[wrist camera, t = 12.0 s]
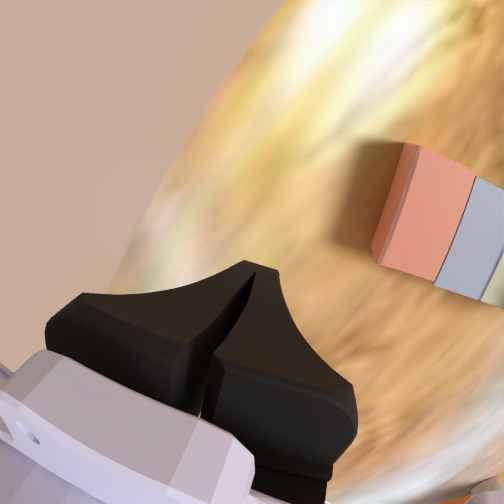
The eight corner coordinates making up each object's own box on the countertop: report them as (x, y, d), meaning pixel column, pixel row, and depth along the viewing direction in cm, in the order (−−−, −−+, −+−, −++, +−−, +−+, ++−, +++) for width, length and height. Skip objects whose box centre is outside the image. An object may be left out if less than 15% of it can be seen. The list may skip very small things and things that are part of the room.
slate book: (465, 280, 19) (480, 301, 16) (421, 265, 20) (433, 285, 17) (500, 191, 16) (522, 201, 14) (457, 169, 17) (476, 176, 14)
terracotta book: (403, 142, 17) (416, 145, 14) (456, 164, 17) (476, 171, 14) (369, 244, 20) (376, 262, 17) (421, 261, 20) (434, 281, 17)
